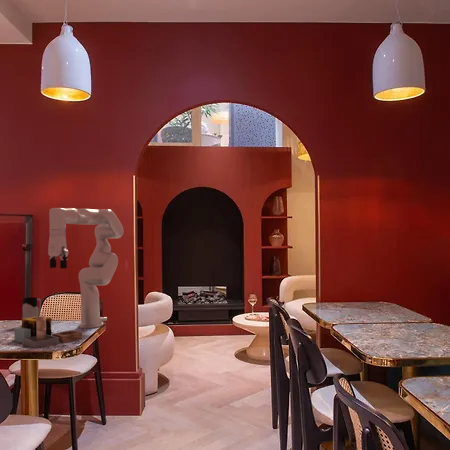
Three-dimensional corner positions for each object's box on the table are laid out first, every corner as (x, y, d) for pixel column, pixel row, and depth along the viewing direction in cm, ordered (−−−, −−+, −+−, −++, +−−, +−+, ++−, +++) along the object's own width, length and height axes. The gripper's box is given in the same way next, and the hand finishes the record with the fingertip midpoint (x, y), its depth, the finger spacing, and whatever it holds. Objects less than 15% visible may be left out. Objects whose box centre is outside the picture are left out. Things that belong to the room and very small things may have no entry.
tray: (46, 340, 231) (46, 334, 231) (59, 343, 224) (59, 337, 224) (23, 344, 223) (23, 338, 223) (35, 348, 215) (35, 341, 215)
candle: (33, 342, 228) (33, 320, 228) (20, 340, 234) (20, 318, 234) (52, 338, 237) (52, 317, 237) (39, 336, 242) (39, 315, 243)
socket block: (70, 336, 239) (70, 330, 239) (82, 339, 233) (82, 332, 233) (51, 340, 232) (51, 333, 232) (62, 342, 225) (62, 336, 225)
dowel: (43, 341, 226) (43, 315, 226) (47, 342, 223) (47, 316, 224) (35, 343, 223) (34, 316, 223) (39, 344, 220) (39, 317, 221)
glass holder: (18, 326, 268) (18, 299, 268) (34, 322, 282) (33, 295, 282) (32, 327, 266) (32, 299, 266) (47, 322, 280) (47, 296, 280)
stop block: (20, 339, 235) (20, 326, 235) (30, 342, 228) (30, 329, 228) (14, 340, 232) (14, 327, 232) (24, 343, 226) (24, 330, 226)
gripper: (41, 233, 244) (42, 268, 244) (59, 233, 233) (60, 269, 233) (55, 233, 250) (56, 267, 250) (74, 232, 239) (74, 268, 238)
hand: (58, 268), depth 241 cm, fingers open, 9 cm apart
